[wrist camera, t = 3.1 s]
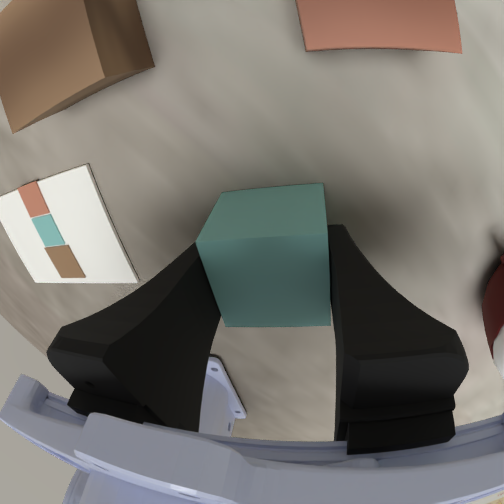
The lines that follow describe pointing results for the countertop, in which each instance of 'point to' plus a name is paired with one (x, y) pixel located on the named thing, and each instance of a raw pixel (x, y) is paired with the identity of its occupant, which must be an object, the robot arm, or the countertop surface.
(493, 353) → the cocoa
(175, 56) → the countertop surface
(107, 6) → the walnut base block
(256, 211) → the teal block
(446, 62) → the countertop surface
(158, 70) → the countertop surface
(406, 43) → the cherry block
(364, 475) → the robot arm
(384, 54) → the countertop surface
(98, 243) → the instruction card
